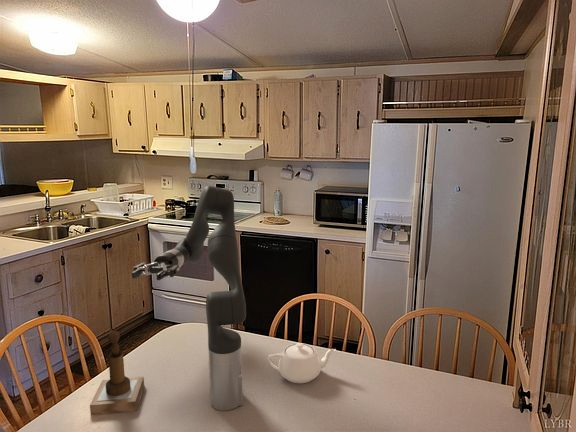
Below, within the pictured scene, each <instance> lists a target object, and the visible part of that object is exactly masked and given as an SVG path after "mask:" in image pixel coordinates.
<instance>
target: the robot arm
mask: <svg viewBox="0 0 576 432" xmlns="http://www.w3.org/2000/svg"><path fill="white" fill-rule="evenodd" d="M206 213H207V214H213V215H218V216H220V217H221V218H222V219H221V221H220V222H219V223H218V225H217V226H216V228H214V229H213V231H212V232H211V233H210V234H209V232H210V225H209V223H208V220H207V218H206ZM236 232H237V231H236V226H235V198H234V194H233V192H232V191H231V190H229V189H226V188H222V187H218V186H213V185H207V186H205V187H204V188H203V189H202V191H201V193H200V196H199V199H198V202H197V205H196V209H195V213H194V217H193V221H192V223H191V225H190V228H189V230H188V232H187V234H186V235H185V237H182V238H181V239H180V240H179V241H178V242H177V243H176V246H175V247H173V248H172V249H169V250H167V251H165V252H164V253H161V254H160V255H158V256H157V257H155V259H154V260H153V262H151V263H148V264H146V261H145V262H141V263H139V264H137V265H135V266H133V268H132V269H133V271H132V272H131V278H132V279H133V280H134V279H137V278H139V277H141V276H144V275H145V276H150V275H155V276H156V280H157V281H161V280H162V279H164V278H168V277H170V278H174V277H175V276H176V275H178V274H179V273H180V269H181V267H182V266H184V265H185V264H187V263H188V262H190V263H197V262H198V261H199V260H200V259H201V257H202V256H203V253H204V244H205V241H206V239H207V256H208V260H209V263H210V264H211V266H212V267H213V268H214V269H215V270H216V272H218V274H219V275H221V277H222V278H223V279H224V280H225V281H226V283H227V285H228V287H229V288H230V290H225V291H224V290H223V291H212V292H208V294H207V295H206V297H205V314H206V315H205V316H206V324H207V325H206V326H207V343H208V344H207V345H208V371H209V372H208V375H209V376H208V377H209V379H208V380H209V400H210V405H211V407H212V408H213V409H214V410H217V411H218V410H219V411H231V410H234V409H236V408H237V407H241V406H244V402H243V401H244V399H243V397H244V396H243V393H244V392H243V368H242V366H243V365H242V337H241V335H240V333H239V332H237V331H235V330H234V329H233V330H232V329H230V328H225V327H223V326H229V325H230V326H231V325H240V324H243V323H245V322H244V321H246V317H247V303H246V298H245V292H244V286H243V283H242V282H243V281H242V277H241V270H240V259H239V257H240V256H239V246H238V240H237V234H236ZM208 235H209V236H208ZM207 237H208V238H207Z"/></svg>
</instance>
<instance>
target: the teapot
mask: <svg viewBox="0 0 576 432" xmlns="http://www.w3.org/2000/svg"><path fill="white" fill-rule="evenodd" d="M336 350H337V349H336V348H330V349H328V350H327V351H326V353H325V355H324V356H323V357H321V358H320V357H319V355H318V353H317V350H316V349H315V348H314V346H311V345H310V344H307V343H302V342H298V343H292V344H291V343H290V344H288V345H287V346H285V348H284V349H283V351H282V352H280V353H278V352H277V353H270V354H269V355H268V356H267V363H268V364H269V366H270V367H271V368H273V369H274V370H277V371H279V374H280V375H281V376H282V377H283V379H285V380H286V381H288V382H290V383H293V384H305V383H306V384H307V383H309V382H312V381H313V380H315V378H317V377H318V376H319V375H320V373H321V370H322V369H324V368H325V367H326V366H327V364H328V363H329V359H330V356H331V355H332V353H334V352H335V351H336ZM273 358H279V361H278V364H277V365H278V366H277V365H275V364H274V363H273V362H272V359H273Z"/></svg>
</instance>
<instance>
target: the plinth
mask: <svg viewBox="0 0 576 432" xmlns="http://www.w3.org/2000/svg"><path fill="white" fill-rule="evenodd" d="M128 378H129V379H130V390H129V391H128V392H126V393H125V394H122V395H119V396H110V395H108V394H107V393H106V383H107V382H108V381H109V380H110V379H103V380H101V382H100V384H99V387H98V388H97V390H96V392H95V393H94V396H93V399H92V400H91V403H90V404H89V410H90V411H89V412H90V416H93V415H94V416H95V415H106V414H117V413H119V414H120V413H128V412H129V413H130V412H137V409H138V407H139V403H140V400H141V398H142V394H143V391H144V388H145V378H144V376H139V377H128Z"/></svg>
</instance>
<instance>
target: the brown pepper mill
mask: <svg viewBox="0 0 576 432" xmlns="http://www.w3.org/2000/svg"><path fill="white" fill-rule="evenodd" d="M119 339H120V333H119V332H118V331H117V330H113V331H111V332H109V334H108V337H107V340H108V341H109V342H110V343H111V346H110V351H111V352H110V353H109V354H108V355H107V361H108V368H109V369H108V370H109V371H108V372H109V379H108V380H109V381H108V382H107V383H106V393H107V394H108V395H110V396H119V395H122V394H125V393H126V392H128V391H129V390H130V379H129V378H130V377H127V376H126V375H125V364H124V363H125V361H124V352H123V351H122V350H120V345H119V344H118V342H119Z"/></svg>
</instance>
